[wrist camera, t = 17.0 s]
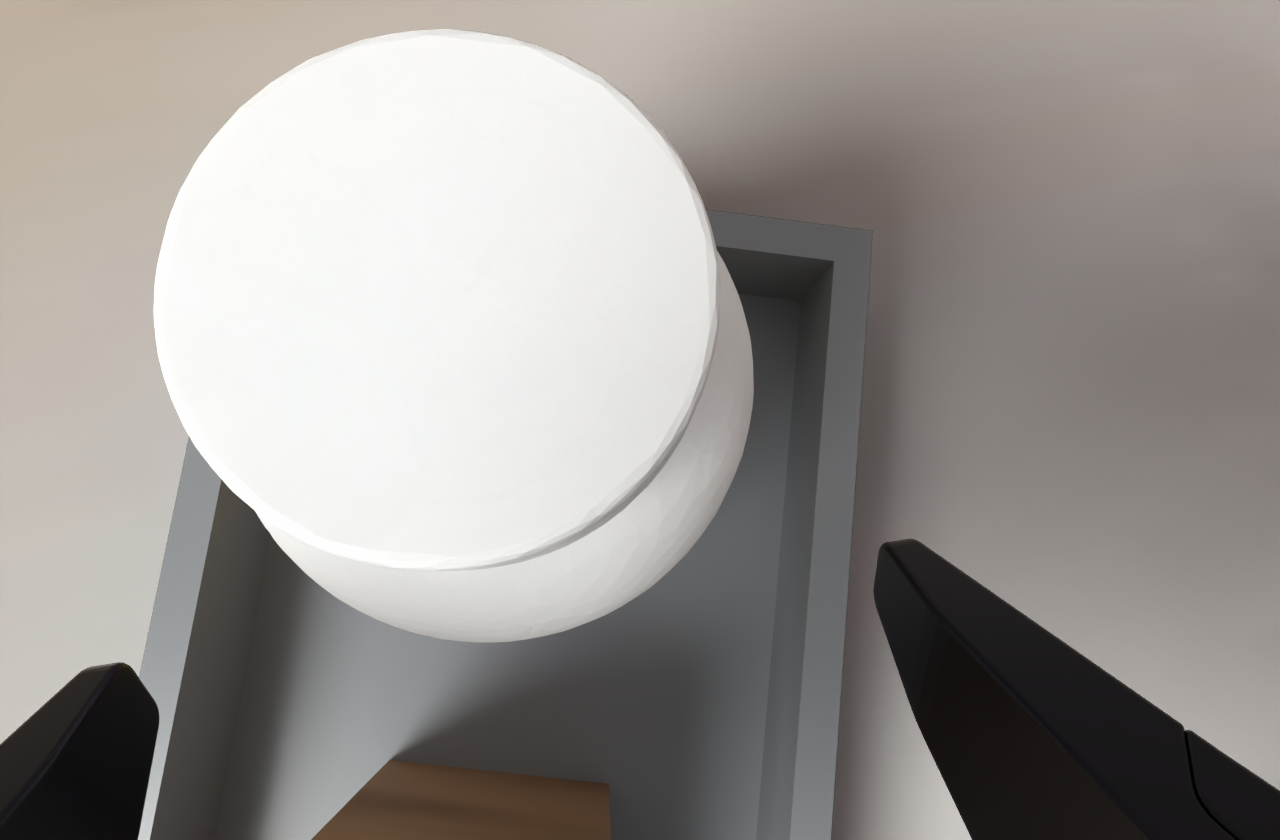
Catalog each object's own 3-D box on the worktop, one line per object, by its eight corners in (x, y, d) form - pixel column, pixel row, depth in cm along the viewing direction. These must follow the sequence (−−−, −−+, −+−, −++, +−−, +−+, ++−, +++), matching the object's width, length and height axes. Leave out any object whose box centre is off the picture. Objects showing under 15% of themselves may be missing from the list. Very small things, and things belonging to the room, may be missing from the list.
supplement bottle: (349, 512, 19) (-175, 439, 6) (488, 276, 20) (295, -208, 7) (599, 647, 18) (603, 866, 6) (726, 402, 20) (962, 136, 7)
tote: (762, 1118, 18) (801, 1258, 14) (146, 1062, 17) (32, 1191, 14) (827, 283, 21) (872, 231, 17) (308, 217, 20) (248, 150, 17)
